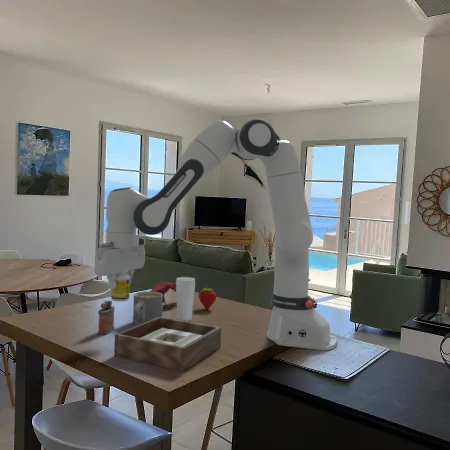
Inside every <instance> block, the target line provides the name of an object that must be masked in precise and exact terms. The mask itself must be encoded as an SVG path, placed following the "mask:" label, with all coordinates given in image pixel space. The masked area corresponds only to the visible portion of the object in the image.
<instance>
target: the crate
mask: <svg viewBox="0 0 450 450" xmlns="http://www.w3.org/2000/svg"><path fill="white" fill-rule="evenodd" d="M221 346H222V327H221V326H215V325H209V324H203V323H198V322H192V321H182V320H178V319H177V318H176V319H175V318H170V317H169V318H168V317H164V316H162V317H157V318H154V319H152V320H149V321H147V322H144V323H142V324H140V325H137V326H136V325H134V326H132V327H130V328H127V329H126V330H122V331H120V332H118V333H115V334H114V350H113V352H114V353H113V354H114V355H113V356H114V357H118V358H122V359H125V360H126V359H127V360H131V361H135V362H140V363H143V364H148V365H151V366H152V365H153V366H157V367H162V368H166V369H171V370H173V371H174V370H175V371H179V372H186V371H187V370H188V369H190V368H192V367H193V366H194V365H196V364H198V363H199V362H201V361H202V360H203V359H205V358H207V357H208V356H210V355H211V354H212V353H214V352H215V351H217V350H218V349H220V348H221Z"/></svg>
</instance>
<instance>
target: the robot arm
mask: <svg viewBox="0 0 450 450" xmlns="http://www.w3.org/2000/svg"><path fill="white" fill-rule="evenodd" d="M278 135H279V134H277V133H276V131H275V129H274V128H273V127H272V125H271V124H270V123H269V122H267V121H266V120H264V119H261V118H255V119H251V120H248V121H246V122H245V123H244V124H243V125H241V126H240V127H239V128H238V127H237V128H235V126H234V127H233V126H232V125H231V124H230V123H228V122H227V121H225V120H215V121H214V122H213V121H212V123H211V124H210V125H208V126H207V127H205V128H204V129H203V130H202V131H201V132H200V133H199V134H198V135H197V136H196V137H195V138H194V139H193V140H192V141H191V142H190V143H189V145H187V148H186V149H185V150H184V152H183V154H182V156H181V157H180V161H179V165H178V168H177V170H176V172H175V173H174V175H173V176H172V177H171V178H170V179H169V181H167V183H166V184H165V185H164V186H163V187H162V188H161V189H160V191H158V193H156V194H155V195H154V196H152V197H149V196H147V195H145V194H143V193H141V192H139V191H137V190H136V189H135V188H134V187H132V186H131V187H130V186H129V187H120V188H116V189H112V190H111V191H110V192H109V193H108V195H107V198H106V208H105V212H106V214H105V216H106V217H105V218H106V222H107V225H106V228H105V229H106V230H105V242H104V243H101V244H100V245H99V246H98V248H97V250H96V254H95V260H94V269H93V270H94V271H93V272H94V274H95V275H96V276H98V277H99V276H100V277H106V278H107V281H108V283H109V289H110V290H111V289H115V288H117V282H115V279H114V277H116V274H117V273H121V272H123V270H124V269H127V268H128V273H127V275H129V276H130V285H131V284H132V278H133V276H134V273H135V270H138V269H142V268H143V267H144V266H145V264H146V262H145V261H146V249H145V245H146V238H144V237H141V236H139V235H138V234H137V230H139V231H140V232H141V233H143V234H145V235H151V236H156V235H158V234H161V233H162V232H164V231H165V230H166V228H167V227H168V226H169V223H170V222H171V221H170V220H171V217H172V214H173V212H174V210H175V208H176V207H177V206H178V204H179V203H180V202H181V201H182V200H183V199H184V197H186V196H187V194H188V193H189V192H190V191H191V189H192V188H193V187H194V186H196V185H197V184H198V183H201V181H203V180H204V179H206V178H207V177H208V176H210V175H211V174H212V173H213V172H215V170H216V169H217V168H218V167H220V165H221V164H223V163H222V162H223V161H224V160H225V159H226V158H227V157H228V156H229V155H230V154H231V155H232V156H235V157H237V158H239V159H241V160H245V161H253V160H256V159H259V160H260V162H261V163H262V164H263V167H264V169H265V176H266V183H267V189H268V194H269V201H270V205H271V206H270V207H271V212H272V217H273V223H274V228H275V236H274V237H275V239H274V241H275V242H274V243H275V244H274V276H273V277H274V279H273V280H274V281H273V292H272V295H271V301H270V302H271V303H270V305H271V315H270V316H271V318H270V322H269V326H268V330H267V333H266V337H267V338H268V339H269V340H271V341H272V342H274V343H275V344H276V345H278V346H284V347H291V348H292V347H293V348H300V349H301V348H302V349H310V350H319V351H331V350H332V349H334V348H335V347H336V346H337V345H338V338H337V337H336V336H335V335H333V334H331V327H330V323H329V321H328V320H327V319H326V317H324V316H323V315H321V313H320V312H318V311H317V310H316V309H315V308H314V305H315V297H311V296H310V295H309V280H310V267H309V266H310V263H309V262H310V261H309V257H310V256H309V249H310V247H312V244H313V241H314V233H313V228H312V223H311V217H310V213H309V208H308V204H307V200H306V194H305V188H304V182H303V177H302V171H301V164H300V160H299V157H298V154H297V151H296V149H295V146H294V145H293V143H292V142H290V141H289V140H285V139H282V140H281V138H280V136H278Z"/></svg>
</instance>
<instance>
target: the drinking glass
mask: <svg viewBox="0 0 450 450" xmlns="http://www.w3.org/2000/svg"><path fill="white" fill-rule="evenodd" d="M175 281H176V282H175V283H176V292H175V295H176V296H175V298H176V320H182V321H187V322H191V320H192V318H193V308H194V299H195V289H196V278H195V277H192V276H191V277H189V276H180V277H176V279H175Z"/></svg>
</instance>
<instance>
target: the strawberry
mask: <svg viewBox="0 0 450 450" xmlns="http://www.w3.org/2000/svg"><path fill="white" fill-rule="evenodd" d="M205 286H206V287H204V288H202V289H201V290H200V291H199V293H198V298H199V301H200V303H201V305H202V306H203V307H204V308H205V310H209V309H210V308H211V307H212V305H213V304H214V303H215V302H216V299H217V294H216V292H215V291H214V289H213V288H210V287H209V288H208V286H207V284H206V285H205Z"/></svg>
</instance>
